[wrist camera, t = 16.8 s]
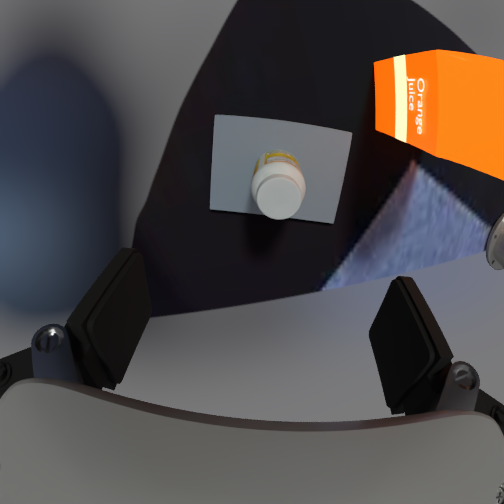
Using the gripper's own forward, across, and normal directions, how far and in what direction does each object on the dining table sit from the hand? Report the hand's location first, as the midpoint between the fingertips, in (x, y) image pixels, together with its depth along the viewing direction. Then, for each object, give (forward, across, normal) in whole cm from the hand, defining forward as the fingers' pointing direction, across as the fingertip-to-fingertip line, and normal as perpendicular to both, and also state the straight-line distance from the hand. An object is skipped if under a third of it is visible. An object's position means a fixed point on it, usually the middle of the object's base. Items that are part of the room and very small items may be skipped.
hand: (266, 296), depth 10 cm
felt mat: (+26, -1, +2) cm, 26 cm away
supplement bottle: (+25, -1, +2) cm, 25 cm away
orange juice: (+26, -15, -10) cm, 32 cm away
